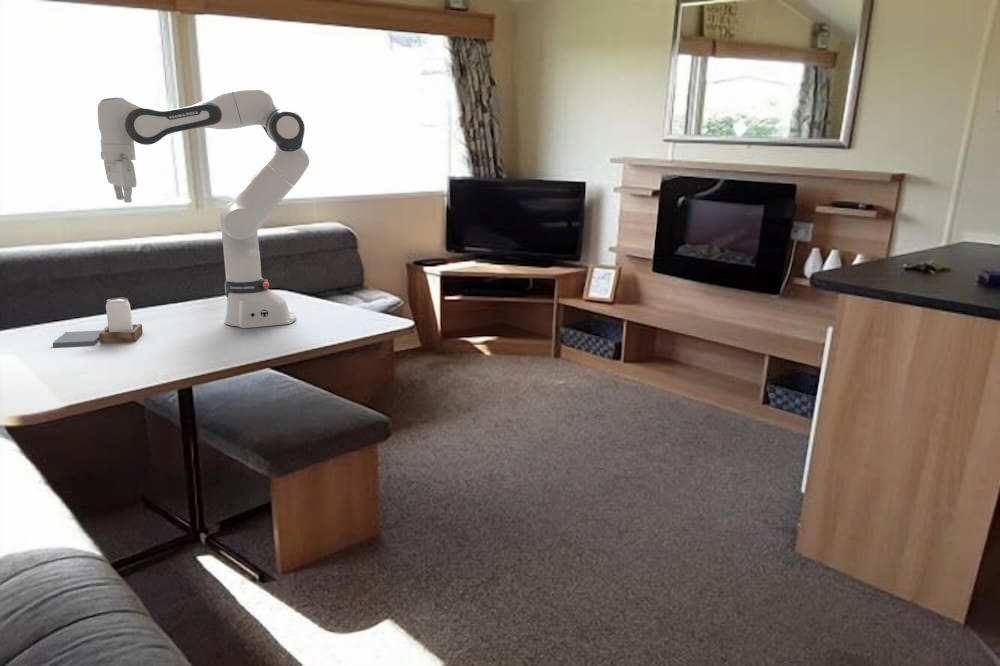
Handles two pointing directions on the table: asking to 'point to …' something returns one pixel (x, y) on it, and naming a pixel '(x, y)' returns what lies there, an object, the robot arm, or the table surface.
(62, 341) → the coaster
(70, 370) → the table surface
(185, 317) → the table surface
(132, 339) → the square wooden frame
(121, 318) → the can
